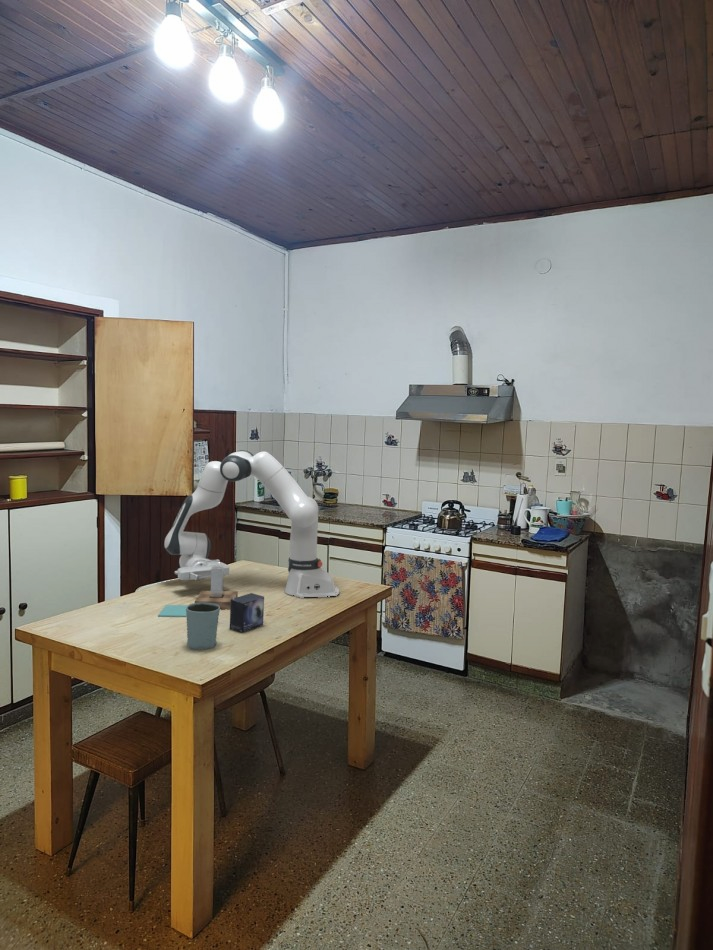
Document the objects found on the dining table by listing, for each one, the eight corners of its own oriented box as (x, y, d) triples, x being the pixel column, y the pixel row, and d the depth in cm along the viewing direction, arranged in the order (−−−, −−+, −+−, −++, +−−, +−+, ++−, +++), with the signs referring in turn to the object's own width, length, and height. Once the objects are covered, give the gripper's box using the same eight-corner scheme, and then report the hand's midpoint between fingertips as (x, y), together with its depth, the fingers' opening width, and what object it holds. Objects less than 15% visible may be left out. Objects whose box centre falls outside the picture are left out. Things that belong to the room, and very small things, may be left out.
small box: (242, 634, 201) (243, 602, 200) (228, 629, 204) (229, 599, 203) (264, 625, 210) (265, 595, 209) (250, 621, 213) (251, 592, 212)
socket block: (237, 598, 239) (237, 591, 239) (233, 609, 225) (233, 601, 225) (201, 598, 238) (201, 590, 238) (194, 609, 224) (194, 601, 224)
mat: (198, 606, 227) (198, 605, 227) (192, 617, 215) (192, 615, 215) (165, 606, 226) (165, 605, 226) (157, 616, 214) (157, 615, 214)
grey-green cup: (181, 642, 191) (181, 604, 190) (211, 636, 197) (212, 600, 196) (192, 652, 183) (193, 613, 182) (224, 646, 189) (225, 608, 188)
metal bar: (222, 602, 234) (223, 566, 233) (221, 605, 230) (222, 569, 229) (212, 602, 234) (212, 566, 232) (210, 605, 230) (211, 568, 228)
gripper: (173, 563, 244) (183, 571, 233) (222, 558, 255) (234, 566, 244) (173, 579, 245) (183, 587, 233) (222, 573, 256) (234, 581, 244)
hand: (209, 576), depth 239 cm, fingers open, 8 cm apart
